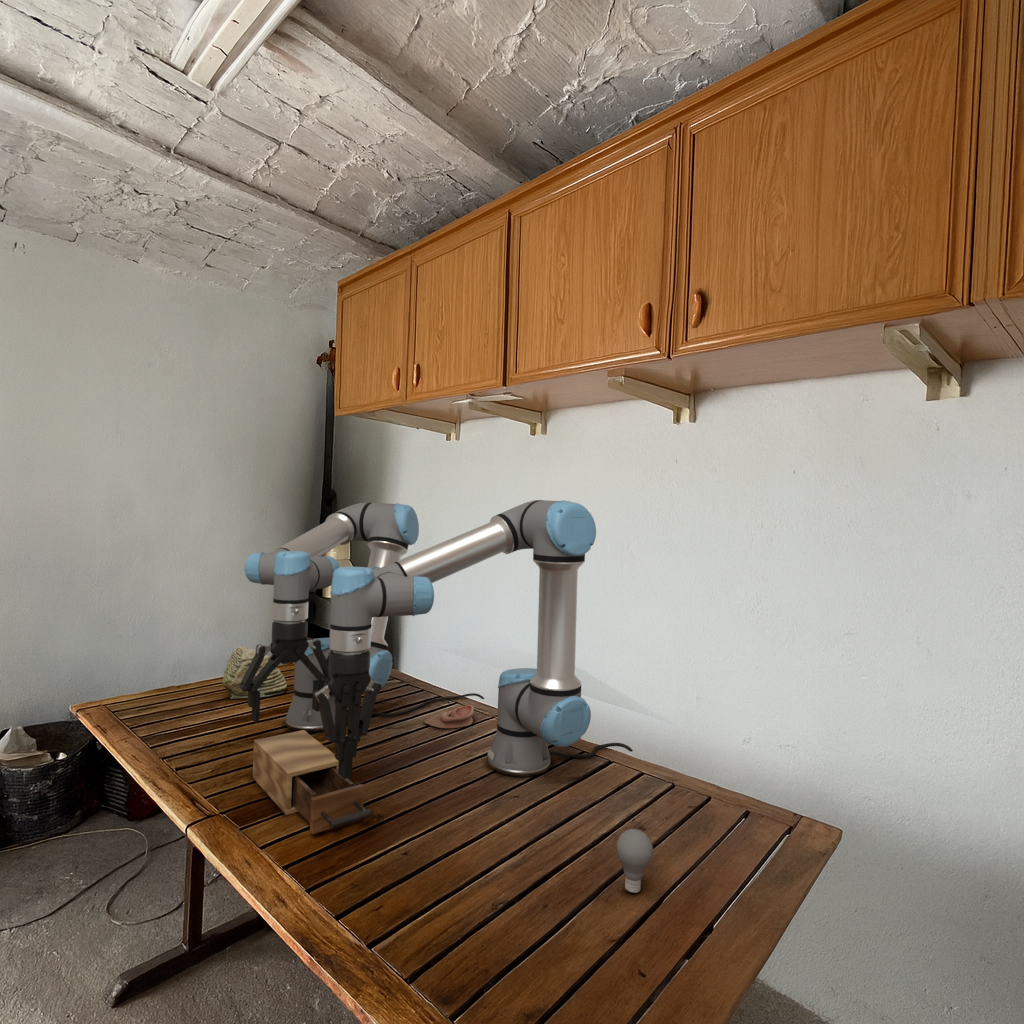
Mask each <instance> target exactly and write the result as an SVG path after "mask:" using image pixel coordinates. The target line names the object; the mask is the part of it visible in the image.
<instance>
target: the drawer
mask: <svg viewBox="0 0 1024 1024" xmlns="http://www.w3.org/2000/svg"><path fill="white" fill-rule="evenodd" d="M364 796H365V786H364V785H363V783H359V784H356V785H355V784H354V782H353V781H352V780H351V779H350V778H347V779H344V778H342V777H341V776H340V775H339V774H338V770H337V769H336V768H335V767H329V768H325V769H321V770H317V771H313V772H309V773H305V774H301V775H297V776H293V777H292V795H291V804H292V805H293V806H294V807H295V808H296V809H297V810H298V811H299V812H298V813H299V814H300V815H301V816H302V817H303V818H304V820H306V821H307V822H308V823H309V832H310V834H312V835H315V834H318V833H322V832H324V831H329V830H330V829H331V830H334V829H337V828H340V827H344V826H346V825H351V824H353V823H355V822H360V821H362V820H366V819H369V818H371V817H372V811H371V809H370V808H367V809H366V808H365V807H364V800H365V799H364Z"/></svg>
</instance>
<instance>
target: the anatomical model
mask: <svg viewBox="0 0 1024 1024" xmlns="http://www.w3.org/2000/svg"><path fill="white" fill-rule="evenodd" d="M474 713H475V707H474V706H473V705H472V704H467V705H462V706H459V707H454V708H452V709H450V710H447V711H444V712H441V713H437V714H434V715H432V716H429V717H428V718H426V719H425V720H424V723H425V724H426V725H429V726H431V727H434V728H437V729H457V728H463V727H468V726H470V725H472V724H473V723H474V718H473V717H472V716H473V715H474Z"/></svg>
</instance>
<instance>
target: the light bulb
mask: <svg viewBox="0 0 1024 1024" xmlns="http://www.w3.org/2000/svg"><path fill="white" fill-rule="evenodd" d="M615 849H616V854H617V857H618V859H619V861H620V863H621V865H622V867H623V873H624V874H623V875H624V876H625V878H624V888H625V890H627V891H628V892H630V893H634V894H635V893H639V892H640V891H641V889H642V887H641V886H642V879H643V877H644V875H645V871H646V868H647V867H648V866H649V864H650V863H651V861H652V859H653V855H654V847H653V843H652V841H651V838H649V836H648V835H647V834H646V833H645V832H643V831H642V830H641V829H636V828H629V829H627V830H625V831H623V832H622V833H621V834H620V835H619V837H618V839H617V841H616V847H615Z"/></svg>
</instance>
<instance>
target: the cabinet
mask: <svg viewBox="0 0 1024 1024" xmlns="http://www.w3.org/2000/svg"><path fill="white" fill-rule="evenodd" d="M252 764H253V765H252V779H253V780H254V781H255V782H256V783H257V784H258V785H259V786H260V787H261V789H262V790H263V791H264V792H265V793H266V794H267V796H268V797H269V798H271V800H272V801H273V802H274V803H275V804H276V806H277V807H278V808H279V809H280V810H281V811H282V813H284V815H286V816H288V815H292V814H295V813H299V811H298V810H297V809H296V808H295V807H294V806H293V805H292V804H291V795H292V777H293V776H297V775H301V774H305V773H309V772H313V771H317V770H321V769H325V768H329V767H335V768H336V769H337V770H338V765H339V761H338V760H337V759H336V758H335V753H334V752H333V751H331V750H330V749H329V748H327V747H326V746H325V745H323V744H322V743H321V741H318V740H317V739H316V738H315V737H313V735H311V734H309V732H306V731H305V730H302V731H293V732H287V733H282V734H277V735H272V736H268V737H267V736H266V737H264V738H263V737H262V738H258V739H254V740H253V758H252Z"/></svg>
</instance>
